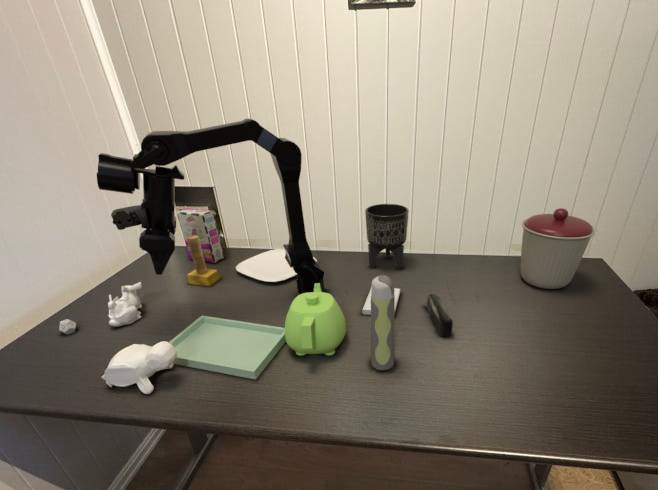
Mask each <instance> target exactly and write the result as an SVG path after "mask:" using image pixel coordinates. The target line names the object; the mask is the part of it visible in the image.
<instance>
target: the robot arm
mask: <svg viewBox="0 0 658 490" xmlns="http://www.w3.org/2000/svg"><path fill="white" fill-rule="evenodd" d="M250 141H251V142H253V143H254V144H256V145H258V146H259V147H261V148H262V149H264V150H265V151H267V153H270V156H271V160H272V163H273V166H274V169H275V171H276V173H277V176H278V178H279V181H280V185H281V192H282V193H281V194H282V199H283V204H284V205H283V206H284V211H285V217H286V224H287V231H288V236H289V237H288V243H285V244H284V243H283V244H282V246H283V249H285V252H286V255H285V259H286V261H287V262H288V264H289V266H290V267H292V268H293V270H294V271H295V273H297V274H298V275H296V277H297V278H296V281H295V282H296V288H297V293H298V295H300V294H303V293H309V292H314V285H315V283H320V286H321V290H322V292H324V293H327V292H328V289H327V288H325V280H324V276H325V271H324V270H323V268H322V266H320V264H319V263H318V261H317V262H316V260H317V259H316V260H314V258H315V257H314V256H313V253H312V250H311V247H310V245H309V242H308V240H307V235H306V233H307V232H306V226H305V220H304V219H305V218H304V212H303V211H304V210H303V204H302V195H301V189H300V179H301V178H300V177H301V172H302V157H303V156H302V155H303V154H302V151H301V148H300V146H298V144H296V143H295V142H294V141H292V140H291V139H287V138H285V137H280V138H279V137H278V136H277V135H275V134H273V133H272V132H271V131H269V130H268V129H266V128H265V127H263V126H262V125H261V124H260V123H259V122H258V121H257V120H255V119H254V118H253V119H252V118H244V119H242V120H239V121H234V122H229V123H223V124H218V125H213V126H208V127H204V128H197V129H193V130H189V131H187V130H186V131H181V130H180V131H179V130H154V131H151V132H148V133H146V135H145V136H144V137H143V139H142V141H141V144H140V151H139V152H138V153H134V155H133V157H132V158H127V157H120V156H115V155H111V154H108V153H102V152H101V153H99V154H98V157H97V158H98V163H97V172H96V182H97V187H98V189H99V190H100V191H108V192H115V193H122V194H131V195H133V194H134V193H135V192H136V190H137V191H139V190H140V189H141V174H142V189H143V190H142V191H143V195H142V196H143V198H142V200H141V201H142V202H141V203H140V204H138V205H131V206H125V207H121V208H115V209H114V210H112V211H111V213H110V216H111V218H112V224H113V225H115V227H116V229H117V230H118V231H122V230H125V229H127V228H132V227H136V226H140V225H141V226H140V227H141V229H145V230H143V231H141V232H140V233H139V237H138V238H139V239H138V241H139V248H140V249H141V250H142V251H143V252H146V253H147V254H149V256H150V259H151V262H152V265H153V269H154V272H155V275H160V276H161V275H163V273H164V271H165V269H166V267H167V265H168V263H169V261H170V259H171V257H172V256H173V254H174V252H175V250H176V236H175V233H176V229H177V216H175V209H176V208H175V207H176V201H175V196H176V194H175V193H176V192H175V191H176V190H175V188H176V186H175V185H176V184H175V183H176V182H175V181H176V180H180V181H183V180H185V173H184V172H182V171H181V169H180V168H179V166H178V165H177V164H174V166H172V167H166V166H168V165H171V164H172V163H175V162H177V161H179V160H182V159H184V158H186V157H187V156H189V155H192V154H194V153H197V152H201V151H206V150H210V149H216V148H220V147H225V146H230V145H234V144H239V143H245V142H250ZM154 165H155V169H153V168H150V167H151V166H154ZM313 257H314V258H313Z"/></svg>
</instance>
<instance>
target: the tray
mask: <svg viewBox="0 0 658 490" xmlns="http://www.w3.org/2000/svg"><path fill="white" fill-rule="evenodd" d="M168 343H170V344H171V345H173V347H174V348H175V349H176V350H177V353H178V355H177V358H176V359H175V360H174V362H173V364H174V365H177V366H183V367H188V368H194V369H197V370H204V371H208V372H214V373H219V374H224V375H230V376H235V377H240V378H245V379H251V380H257V379H258V378H259V376H260V375H261V374H262V372H263V371H264V370H265V369H266V368H267V366H268V365H269V364H270V362H272V360H273V359H274V357H275V356H276V355H277V354H278V352H279V351H280V350H281V348H282V347H283V346H284V345H285V343H287V342H286V339H285V327H280V326H276V325H268V324H261V323H255V322H250V321H249V322H248V321H241V320H235V319H229V318H221V317H214V316H208V315H201V316H199V317H198V318H197V319H195V320H194V321H193V322H192V323H191V324H190V325H188V326H187V327H186V328H184V330H182V331H181V332H179V333H178V334H177V335H176V336H175V337H173V338H172V339H171V340H170V341H168Z"/></svg>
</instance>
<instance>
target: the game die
mask: <svg viewBox="0 0 658 490" xmlns="http://www.w3.org/2000/svg"><path fill="white" fill-rule="evenodd" d="M76 327H77V322H75V321H73V320H72V319H68V318H66V319H63V320H60V321H59V326H58V332H61V333H63V334H65V335H68V336H69V335H71V334H74V333H75V332H76Z"/></svg>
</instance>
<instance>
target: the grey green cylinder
mask: <svg viewBox="0 0 658 490" xmlns="http://www.w3.org/2000/svg"><path fill="white" fill-rule="evenodd" d="M371 287H372V290H371V315H370V365H371V366H372V367H373V368H374V369H375V370H377V371H388V370H390V369H391V368H393V366H394V365H395V315H394V308H395V295H394V288H395V285H394V282H393V280H392V279H391V278H390V277H389V276H388V275H384V274H381V275H377V276H375V277H374V278H373V279H372V281H371Z"/></svg>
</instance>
